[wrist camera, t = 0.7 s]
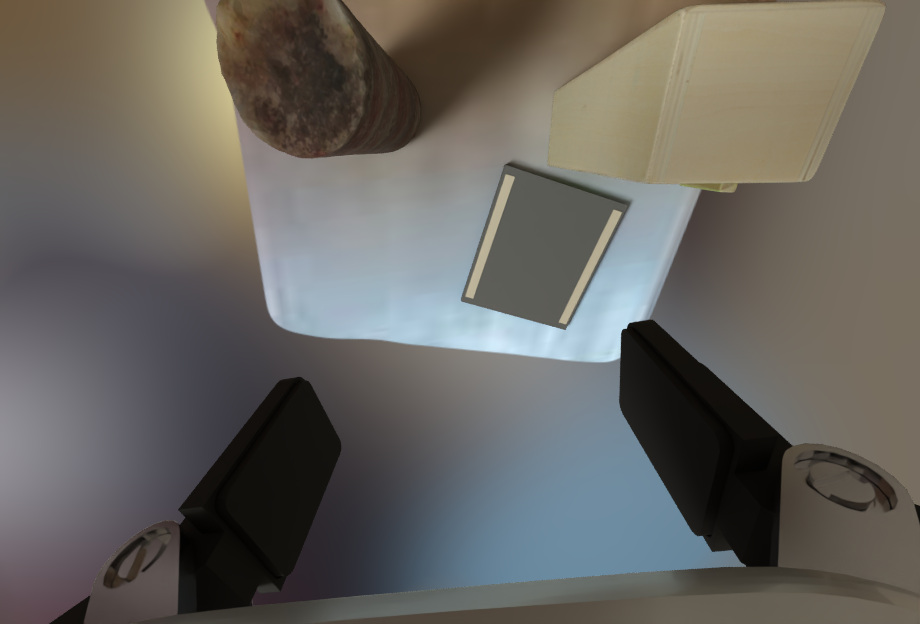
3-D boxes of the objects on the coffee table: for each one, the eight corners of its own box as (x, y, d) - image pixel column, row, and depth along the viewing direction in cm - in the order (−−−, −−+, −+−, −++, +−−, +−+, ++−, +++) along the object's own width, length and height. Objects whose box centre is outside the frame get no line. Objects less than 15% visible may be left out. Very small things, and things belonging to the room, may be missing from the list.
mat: (504, 164, 34) (505, 164, 33) (624, 204, 36) (628, 205, 35) (461, 298, 41) (461, 301, 40) (563, 326, 42) (565, 330, 42)
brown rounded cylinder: (409, 166, 34) (350, 180, 16) (340, 139, 33) (194, 123, 15) (431, 83, 31) (387, -14, 13) (355, 51, 30) (193, -103, 12)
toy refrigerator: (543, 174, 34) (642, 199, 16) (551, 91, 31) (688, -5, 12) (619, 173, 34) (811, 197, 15) (635, 90, 31) (902, -9, 12)
